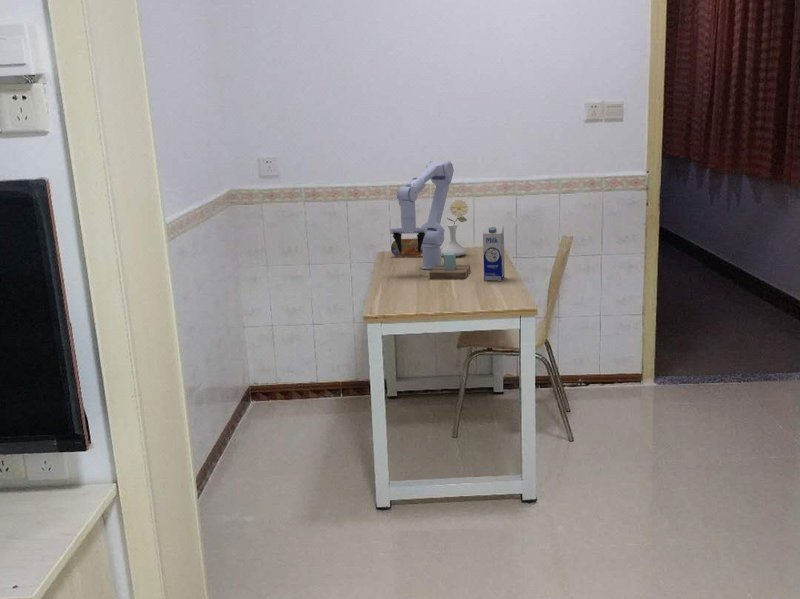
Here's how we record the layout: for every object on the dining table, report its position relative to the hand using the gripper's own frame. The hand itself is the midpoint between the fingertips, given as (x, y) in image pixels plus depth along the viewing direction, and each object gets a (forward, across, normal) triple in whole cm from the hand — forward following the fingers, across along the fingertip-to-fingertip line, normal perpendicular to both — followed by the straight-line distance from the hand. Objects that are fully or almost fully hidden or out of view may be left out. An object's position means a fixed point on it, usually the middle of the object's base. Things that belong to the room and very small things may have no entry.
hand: (410, 251), depth 313 cm
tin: (+10, -9, +38) cm, 40 cm away
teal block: (+7, +16, -1) cm, 17 cm away
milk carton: (+10, +34, -8) cm, 36 cm away
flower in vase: (+10, +12, +39) cm, 42 cm away
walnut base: (+9, +16, -1) cm, 18 cm away
